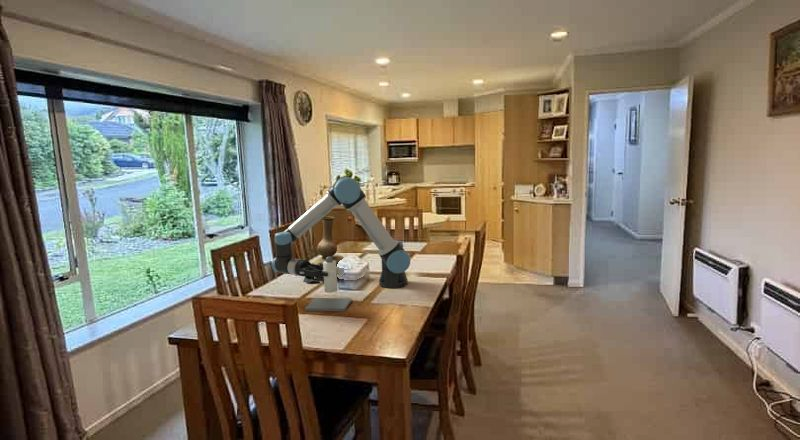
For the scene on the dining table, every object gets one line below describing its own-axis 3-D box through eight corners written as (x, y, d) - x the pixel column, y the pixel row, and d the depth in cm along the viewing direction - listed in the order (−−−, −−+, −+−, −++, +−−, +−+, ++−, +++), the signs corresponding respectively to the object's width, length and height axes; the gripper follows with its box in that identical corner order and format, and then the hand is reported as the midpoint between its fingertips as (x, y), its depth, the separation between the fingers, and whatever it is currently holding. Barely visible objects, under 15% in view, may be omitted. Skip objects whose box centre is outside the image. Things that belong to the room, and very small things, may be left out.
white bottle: (338, 288, 189) (337, 255, 187) (335, 292, 184) (333, 257, 182) (326, 288, 190) (324, 255, 188) (323, 292, 185) (320, 258, 182)
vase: (341, 282, 231) (338, 219, 226) (301, 284, 232) (296, 221, 227) (347, 271, 255) (344, 213, 250) (310, 272, 255) (306, 215, 250)
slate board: (351, 300, 201) (351, 298, 201) (344, 311, 187) (343, 308, 187) (315, 300, 204) (315, 298, 203) (304, 310, 190) (304, 308, 190)
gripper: (314, 270, 203) (352, 276, 191) (285, 280, 188) (325, 287, 176) (313, 255, 202) (352, 259, 190) (284, 264, 187) (324, 269, 175)
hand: (339, 273), depth 183 cm, fingers closed on white bottle, 6 cm apart
